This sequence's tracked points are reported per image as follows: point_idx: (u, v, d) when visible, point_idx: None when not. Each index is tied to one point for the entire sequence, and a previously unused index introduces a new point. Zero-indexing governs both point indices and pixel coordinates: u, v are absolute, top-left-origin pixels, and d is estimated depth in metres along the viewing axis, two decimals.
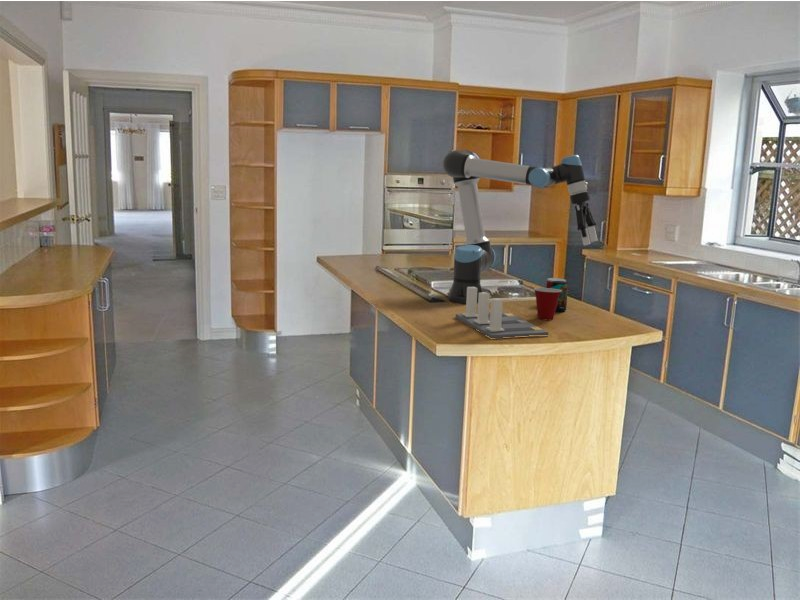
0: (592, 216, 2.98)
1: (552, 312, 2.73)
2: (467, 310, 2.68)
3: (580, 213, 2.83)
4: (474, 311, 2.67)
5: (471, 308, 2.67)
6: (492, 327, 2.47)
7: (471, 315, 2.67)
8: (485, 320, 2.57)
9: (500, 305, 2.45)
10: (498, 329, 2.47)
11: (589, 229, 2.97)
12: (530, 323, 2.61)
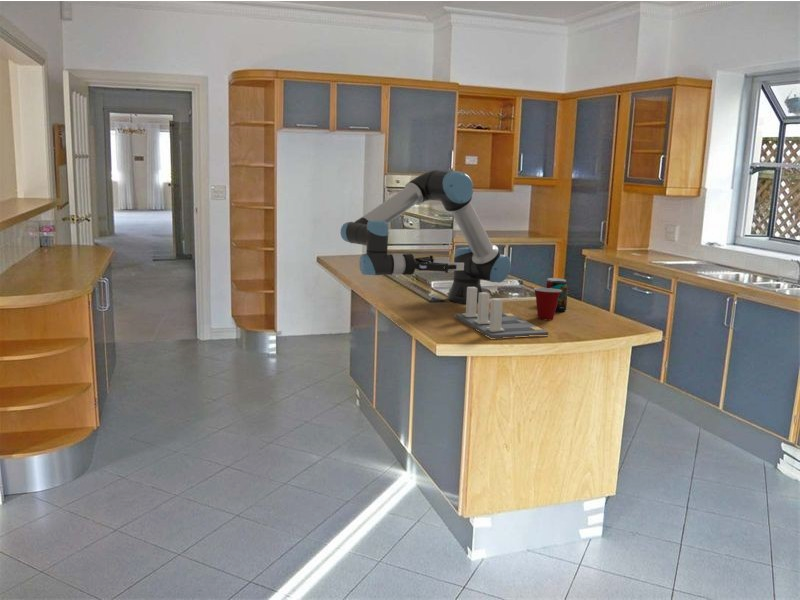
0: None
1: (552, 312, 2.73)
2: (467, 310, 2.68)
3: None
4: (474, 311, 2.67)
5: (471, 308, 2.67)
6: (492, 327, 2.47)
7: (471, 315, 2.67)
8: (485, 320, 2.57)
9: (500, 305, 2.45)
10: (498, 329, 2.47)
11: None
12: (530, 323, 2.61)
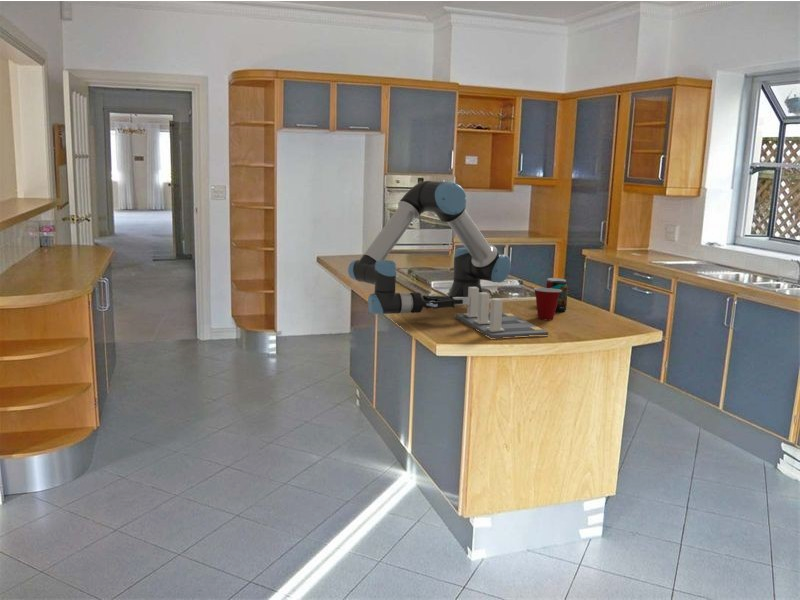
0: None
1: (552, 312, 2.73)
2: (468, 310, 2.68)
3: None
4: (475, 311, 2.67)
5: (472, 308, 2.67)
6: (492, 327, 2.47)
7: (472, 315, 2.67)
8: (485, 320, 2.57)
9: (500, 305, 2.45)
10: (498, 329, 2.47)
11: None
12: (530, 323, 2.61)
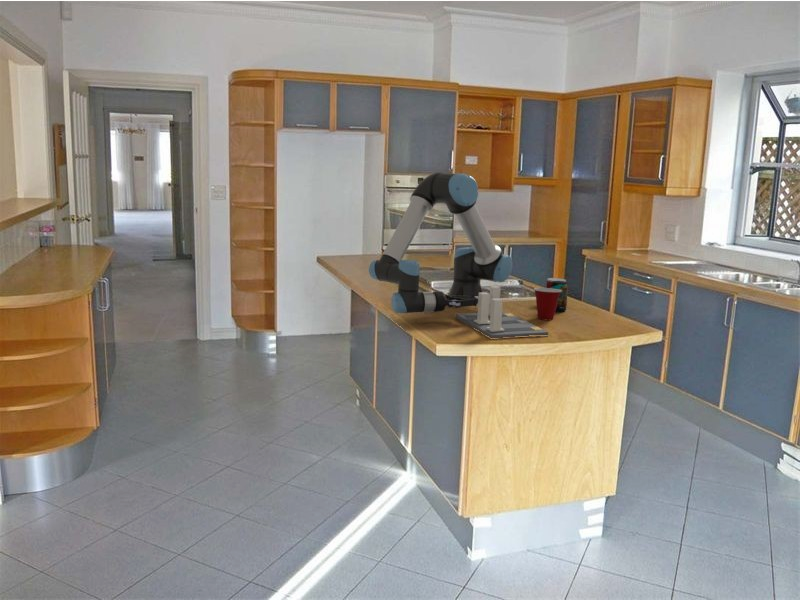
0: None
1: (552, 312, 2.73)
2: (490, 309, 2.71)
3: None
4: None
5: None
6: (492, 327, 2.47)
7: None
8: (485, 320, 2.57)
9: (500, 305, 2.45)
10: (498, 329, 2.47)
11: None
12: (530, 323, 2.61)
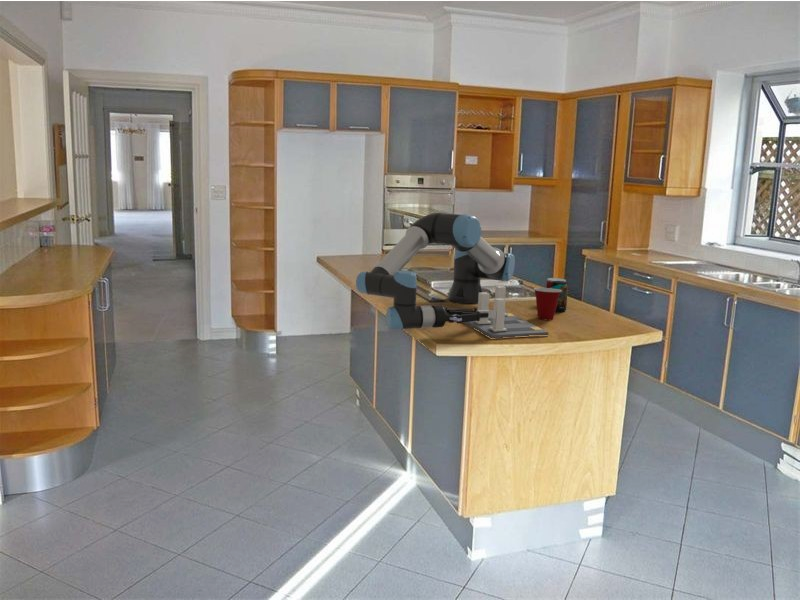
0: None
1: (552, 312, 2.73)
2: None
3: None
4: None
5: None
6: (495, 327, 2.47)
7: None
8: (485, 320, 2.57)
9: (503, 305, 2.46)
10: (501, 329, 2.47)
11: None
12: (530, 323, 2.61)
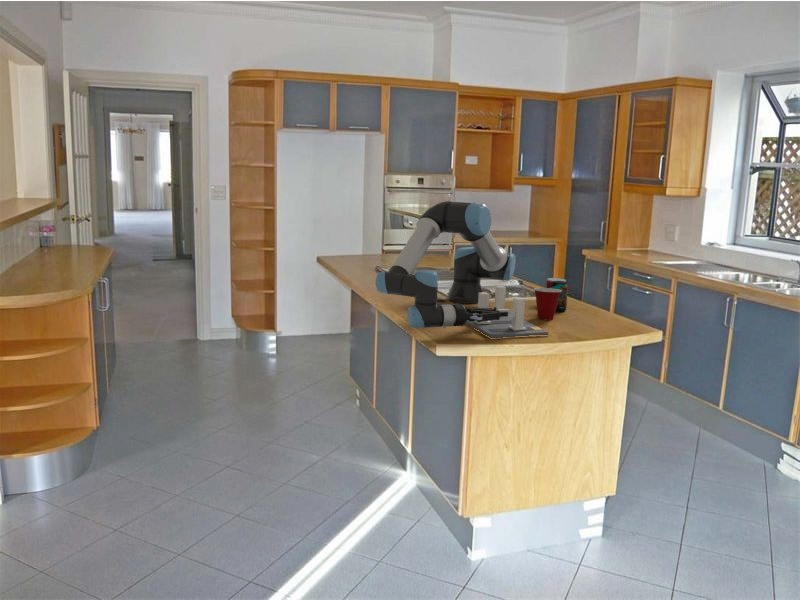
0: None
1: (552, 312, 2.73)
2: None
3: None
4: None
5: (500, 307, 2.70)
6: (514, 326, 2.50)
7: None
8: None
9: (522, 304, 2.48)
10: (520, 328, 2.49)
11: None
12: (530, 323, 2.61)
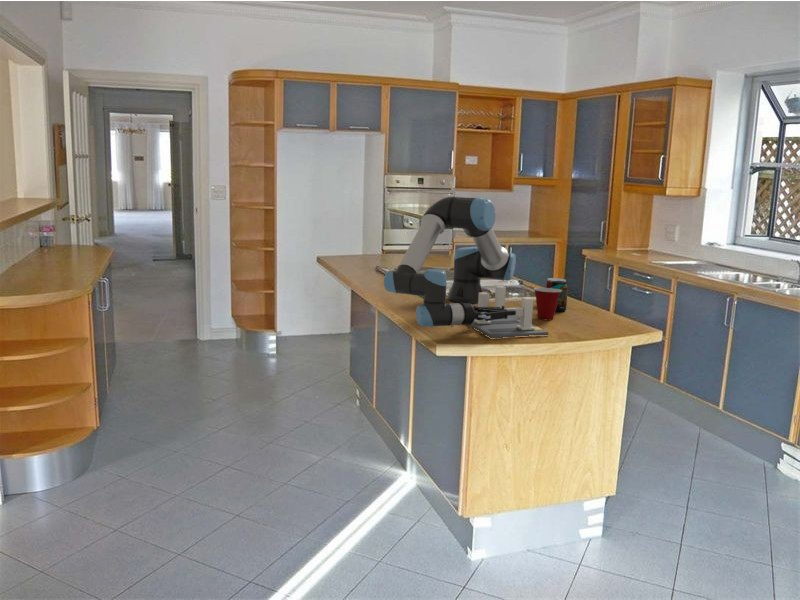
0: (500, 318, 2.43)
1: (552, 312, 2.73)
2: None
3: None
4: None
5: (500, 307, 2.70)
6: (522, 326, 2.50)
7: None
8: None
9: (531, 304, 2.49)
10: (528, 327, 2.50)
11: None
12: None
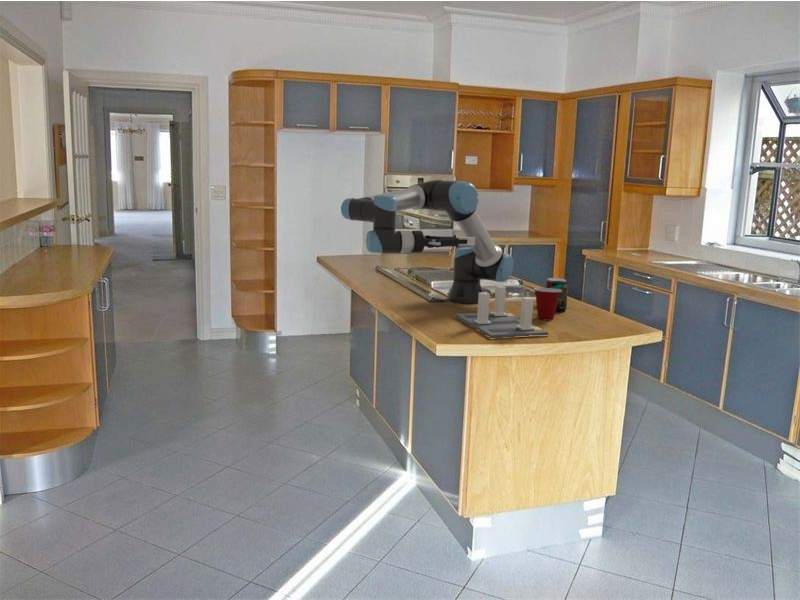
0: None
1: (552, 312, 2.73)
2: (495, 309, 2.71)
3: None
4: (502, 310, 2.71)
5: (500, 307, 2.70)
6: (522, 326, 2.50)
7: (500, 314, 2.70)
8: (485, 320, 2.57)
9: (531, 304, 2.49)
10: (528, 327, 2.50)
11: None
12: None
